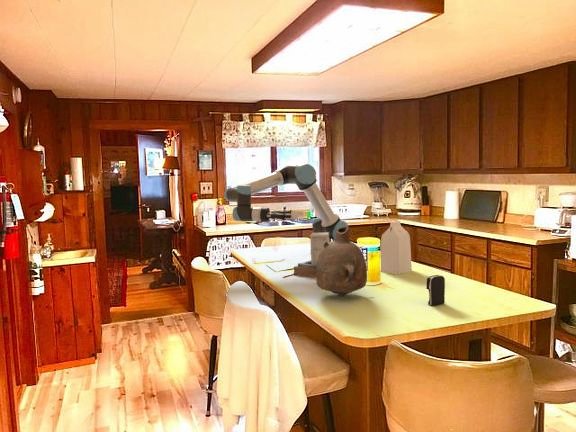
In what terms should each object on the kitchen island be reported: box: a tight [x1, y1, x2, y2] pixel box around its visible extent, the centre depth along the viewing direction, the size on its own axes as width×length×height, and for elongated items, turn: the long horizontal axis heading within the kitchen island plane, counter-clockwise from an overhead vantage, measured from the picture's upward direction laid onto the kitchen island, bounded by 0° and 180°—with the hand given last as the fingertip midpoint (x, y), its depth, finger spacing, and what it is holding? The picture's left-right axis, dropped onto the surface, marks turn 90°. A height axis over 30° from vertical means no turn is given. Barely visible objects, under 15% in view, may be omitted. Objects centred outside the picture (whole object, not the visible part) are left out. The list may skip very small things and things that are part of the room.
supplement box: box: [309, 232, 329, 265], centre depth 248 cm, size 10×9×17 cm
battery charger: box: [426, 274, 446, 307], centre depth 188 cm, size 7×4×11 cm, turn 117°
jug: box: [315, 226, 368, 297], centre depth 203 cm, size 24×21×30 cm
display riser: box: [293, 259, 317, 279], centre depth 249 cm, size 20×20×6 cm
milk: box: [380, 220, 413, 275], centre depth 248 cm, size 12×12×26 cm
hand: (300, 215), depth 250 cm, fingers open, 13 cm apart
